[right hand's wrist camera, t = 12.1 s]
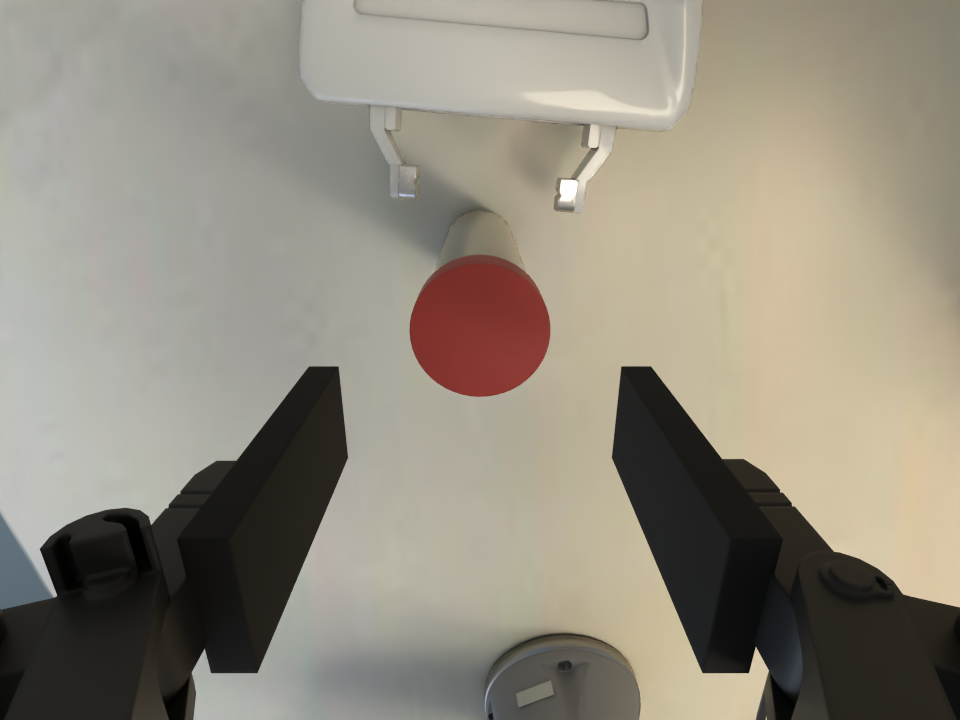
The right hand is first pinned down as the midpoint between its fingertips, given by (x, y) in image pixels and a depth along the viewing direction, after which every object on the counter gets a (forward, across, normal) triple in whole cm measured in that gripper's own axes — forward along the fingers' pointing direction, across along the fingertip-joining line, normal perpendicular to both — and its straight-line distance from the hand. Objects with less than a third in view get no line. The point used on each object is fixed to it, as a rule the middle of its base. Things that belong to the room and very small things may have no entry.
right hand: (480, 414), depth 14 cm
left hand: (+20, 0, +3) cm, 20 cm away
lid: (+7, 0, 0) cm, 7 cm away
